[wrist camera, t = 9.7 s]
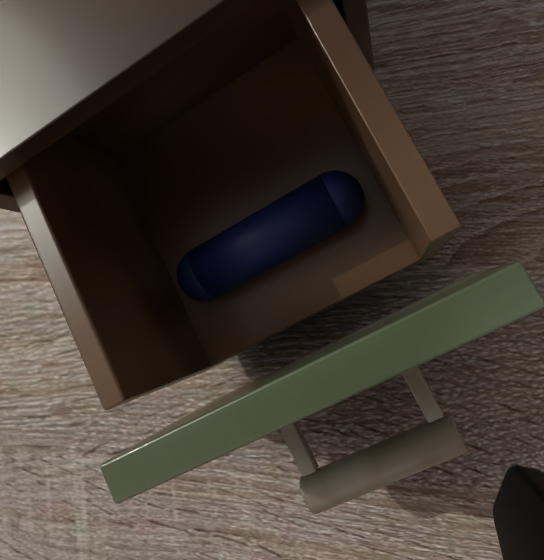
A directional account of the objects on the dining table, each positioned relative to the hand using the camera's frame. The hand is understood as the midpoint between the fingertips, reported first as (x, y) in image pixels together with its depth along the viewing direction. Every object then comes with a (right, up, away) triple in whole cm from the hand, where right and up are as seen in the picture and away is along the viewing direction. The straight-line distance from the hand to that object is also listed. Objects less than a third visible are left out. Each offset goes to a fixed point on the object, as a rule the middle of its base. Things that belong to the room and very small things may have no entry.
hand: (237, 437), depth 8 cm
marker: (+1, +3, +10) cm, 11 cm away
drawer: (+1, +3, +12) cm, 13 cm away
